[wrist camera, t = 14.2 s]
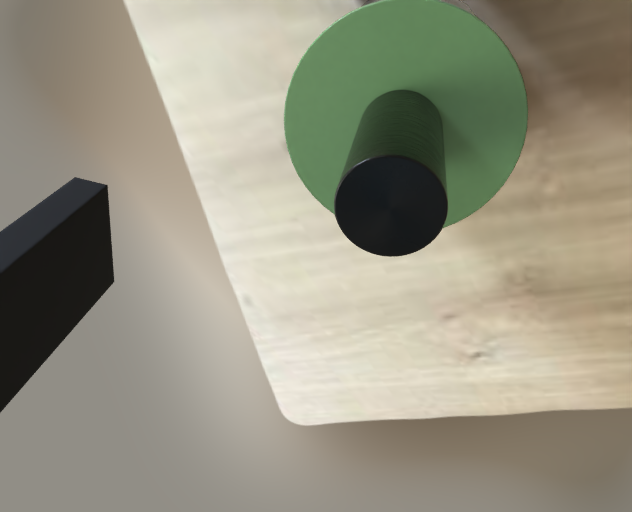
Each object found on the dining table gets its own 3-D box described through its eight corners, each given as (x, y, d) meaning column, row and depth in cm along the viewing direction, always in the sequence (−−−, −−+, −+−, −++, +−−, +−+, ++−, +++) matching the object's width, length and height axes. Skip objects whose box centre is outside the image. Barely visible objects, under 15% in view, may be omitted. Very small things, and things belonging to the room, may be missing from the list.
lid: (500, -48, 22) (541, -31, 14) (540, 196, 27) (586, 310, 19) (254, 45, 25) (176, 100, 18) (331, 243, 31) (297, 353, 23)
